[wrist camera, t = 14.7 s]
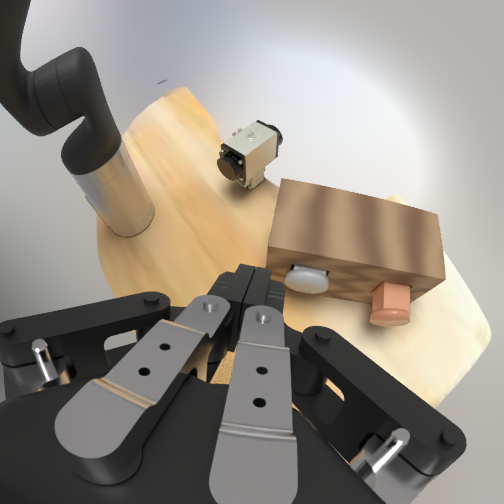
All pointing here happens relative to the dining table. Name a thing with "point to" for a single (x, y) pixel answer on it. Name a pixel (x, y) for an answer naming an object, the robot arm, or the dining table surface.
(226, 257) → the dining table surface
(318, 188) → the socket block
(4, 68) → the robot arm
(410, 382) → the dining table surface
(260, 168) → the pneumatic valve
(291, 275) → the grey plug
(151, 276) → the dining table surface
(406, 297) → the terracotta plug
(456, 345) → the dining table surface
